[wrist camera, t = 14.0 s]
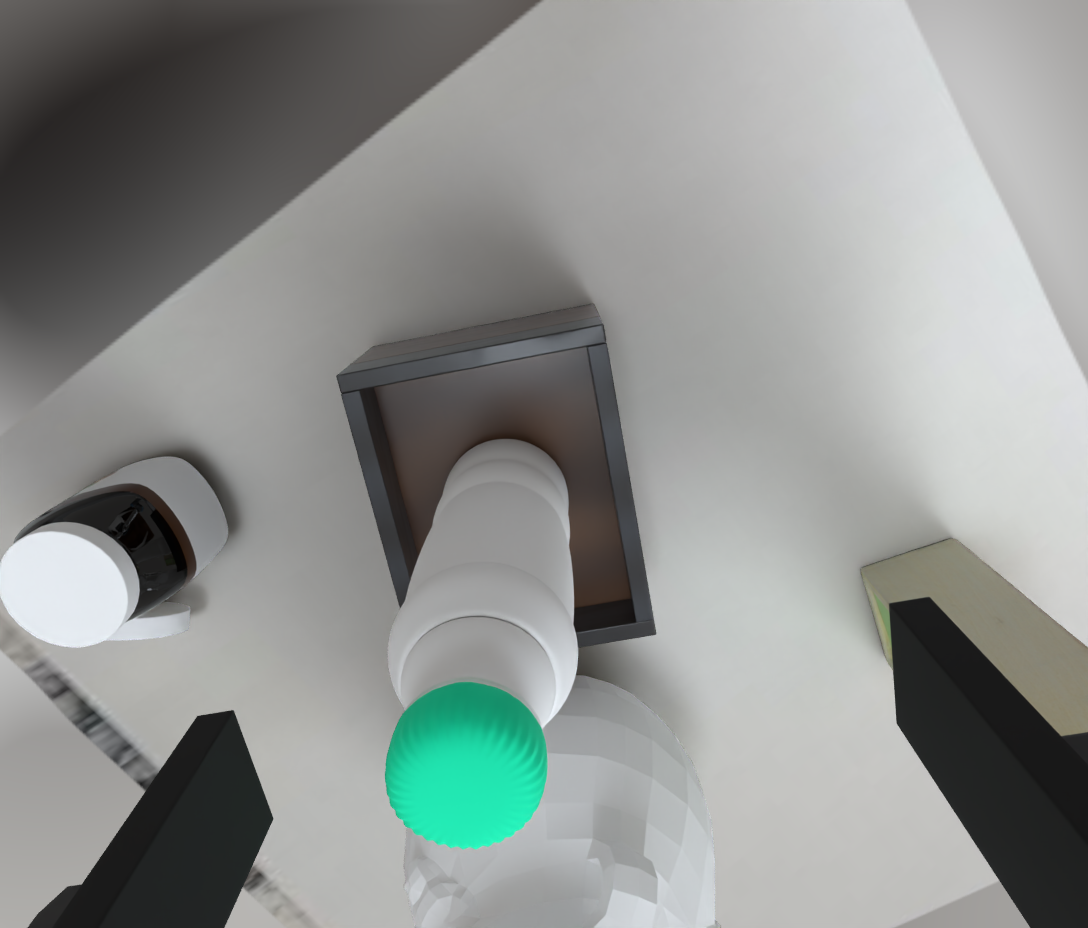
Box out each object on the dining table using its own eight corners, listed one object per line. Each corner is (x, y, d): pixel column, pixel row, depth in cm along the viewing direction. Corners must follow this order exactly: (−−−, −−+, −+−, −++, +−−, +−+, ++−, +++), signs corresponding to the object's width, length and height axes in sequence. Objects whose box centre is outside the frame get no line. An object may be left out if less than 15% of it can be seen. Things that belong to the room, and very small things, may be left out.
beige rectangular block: (845, 568, 54) (1018, 779, 34) (953, 533, 54) (1194, 727, 34) (874, 665, 57) (1051, 915, 37) (978, 632, 56) (1217, 870, 36)
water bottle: (527, 570, 48) (505, 929, 24) (423, 512, 47) (294, 827, 23) (591, 475, 46) (636, 762, 22) (485, 412, 45) (413, 643, 21)
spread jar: (200, 431, 52) (104, 492, 41) (283, 579, 55) (216, 673, 44) (42, 499, 53) (-92, 576, 42) (132, 639, 56) (30, 745, 45)
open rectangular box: (372, 346, 50) (335, 375, 41) (593, 303, 49) (603, 323, 40) (438, 602, 55) (418, 674, 47) (639, 567, 54) (656, 634, 46)
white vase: (489, 581, 55) (442, 869, 31) (728, 677, 57) (857, 1015, 33) (392, 788, 60) (289, 1170, 36) (615, 869, 62) (656, 1280, 38)
